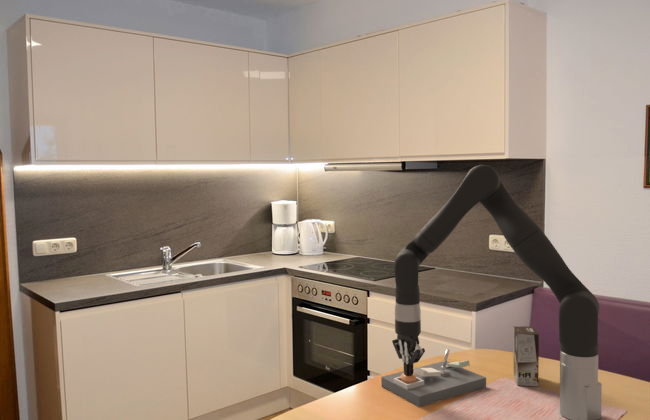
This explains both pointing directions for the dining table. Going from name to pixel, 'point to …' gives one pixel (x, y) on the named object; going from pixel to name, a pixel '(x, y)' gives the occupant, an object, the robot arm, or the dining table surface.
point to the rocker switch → (427, 372)
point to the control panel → (434, 384)
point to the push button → (408, 378)
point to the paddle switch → (459, 364)
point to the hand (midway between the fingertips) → (408, 374)
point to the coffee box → (526, 355)
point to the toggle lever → (445, 360)
